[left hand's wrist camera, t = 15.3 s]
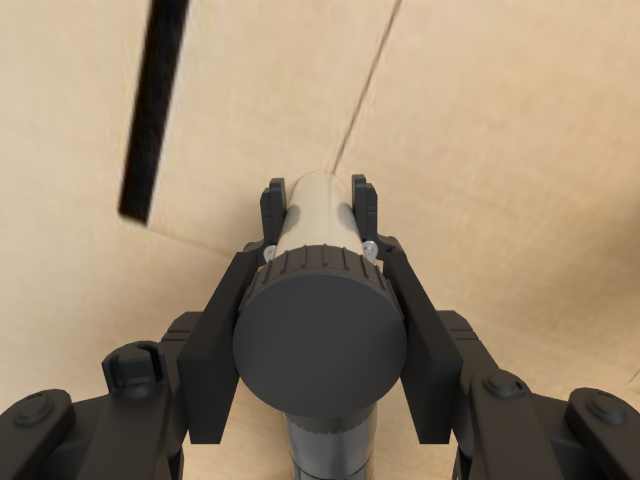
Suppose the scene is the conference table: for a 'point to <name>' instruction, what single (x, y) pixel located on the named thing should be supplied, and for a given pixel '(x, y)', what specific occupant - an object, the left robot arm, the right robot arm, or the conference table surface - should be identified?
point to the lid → (320, 333)
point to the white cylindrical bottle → (319, 216)
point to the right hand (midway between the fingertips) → (317, 179)
